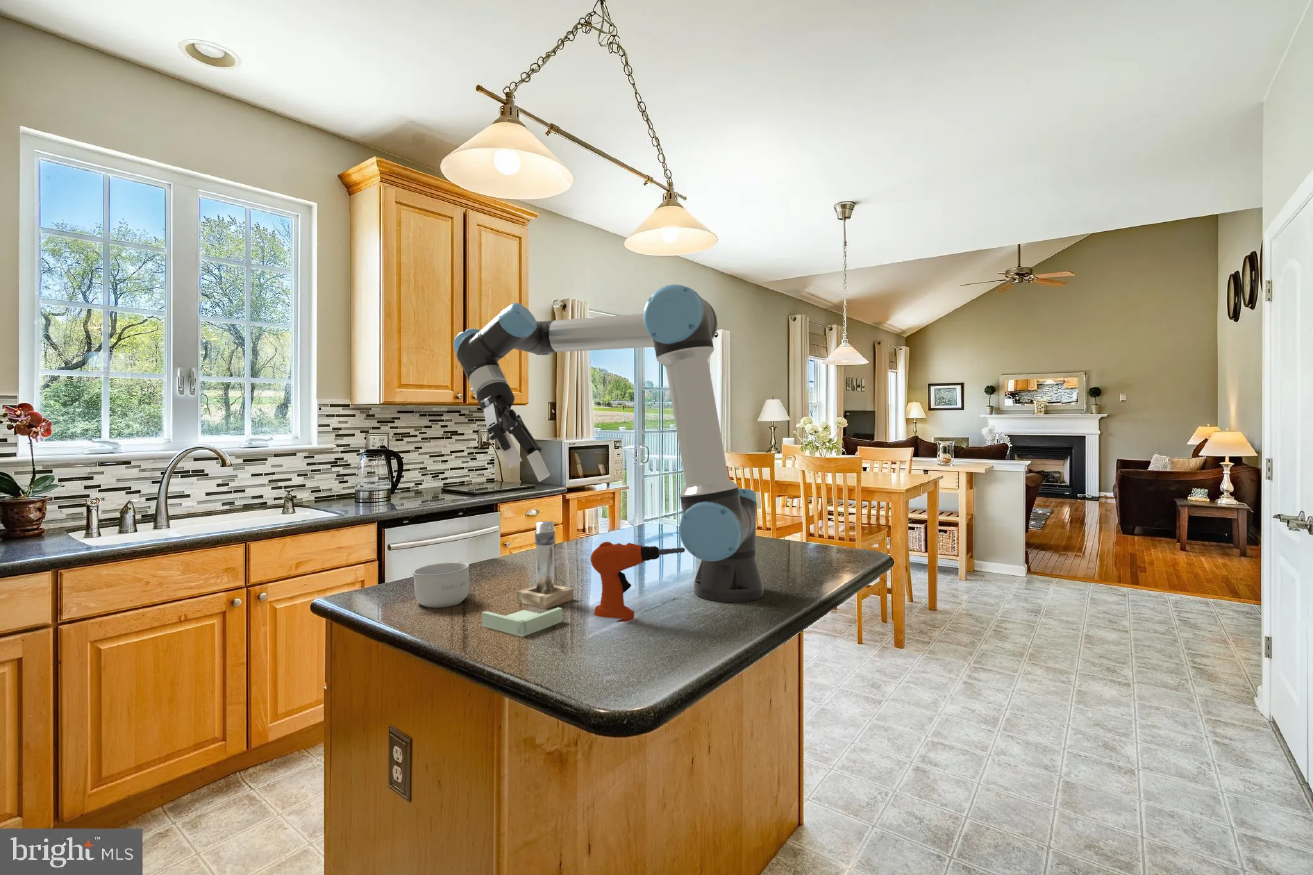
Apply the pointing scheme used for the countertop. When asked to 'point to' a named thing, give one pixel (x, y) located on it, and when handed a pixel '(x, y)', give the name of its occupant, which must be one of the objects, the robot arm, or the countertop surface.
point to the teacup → (441, 584)
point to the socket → (544, 597)
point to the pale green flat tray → (521, 621)
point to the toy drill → (620, 574)
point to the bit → (544, 556)
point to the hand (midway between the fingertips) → (530, 471)
